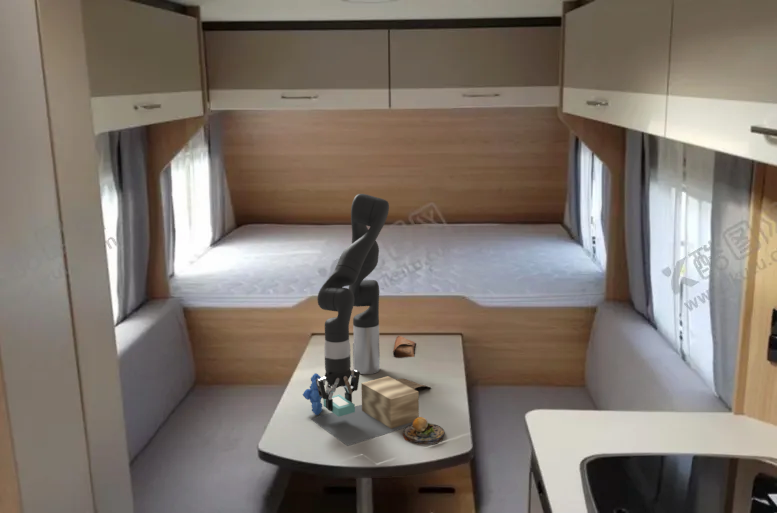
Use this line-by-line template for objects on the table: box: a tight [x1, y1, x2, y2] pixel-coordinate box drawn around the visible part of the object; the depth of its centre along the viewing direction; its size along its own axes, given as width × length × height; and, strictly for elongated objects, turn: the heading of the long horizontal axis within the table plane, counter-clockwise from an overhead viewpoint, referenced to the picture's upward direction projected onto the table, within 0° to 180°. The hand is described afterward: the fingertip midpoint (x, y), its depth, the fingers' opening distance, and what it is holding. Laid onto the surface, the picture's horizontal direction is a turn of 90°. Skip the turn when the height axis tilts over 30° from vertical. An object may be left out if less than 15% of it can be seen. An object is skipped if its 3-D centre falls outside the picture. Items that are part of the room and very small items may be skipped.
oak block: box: [360, 375, 420, 428], centre depth 210 cm, size 16×10×9 cm, turn 34°
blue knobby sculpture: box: [302, 373, 323, 416], centre depth 214 cm, size 12×7×12 cm, turn 6°
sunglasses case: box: [392, 335, 417, 358], centre depth 273 cm, size 18×7×7 cm
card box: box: [322, 393, 356, 417], centre depth 206 cm, size 9×6×2 cm, turn 34°
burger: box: [402, 416, 446, 446], centre depth 197 cm, size 12×12×8 cm
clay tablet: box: [394, 378, 431, 390], centre depth 231 cm, size 16×11×3 cm
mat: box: [310, 404, 413, 447], centre depth 208 cm, size 22×26×1 cm
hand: (338, 407), depth 206 cm, fingers closed on card box, 5 cm apart
